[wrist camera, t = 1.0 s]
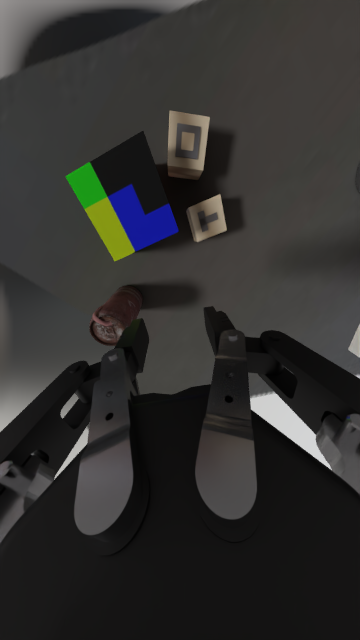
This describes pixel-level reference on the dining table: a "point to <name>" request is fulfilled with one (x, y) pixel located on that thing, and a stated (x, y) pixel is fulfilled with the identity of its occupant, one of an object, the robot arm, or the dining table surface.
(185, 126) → the marked block
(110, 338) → the can
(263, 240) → the dining table surface
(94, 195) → the puzzle toy
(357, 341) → the dish rim
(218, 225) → the marked block
